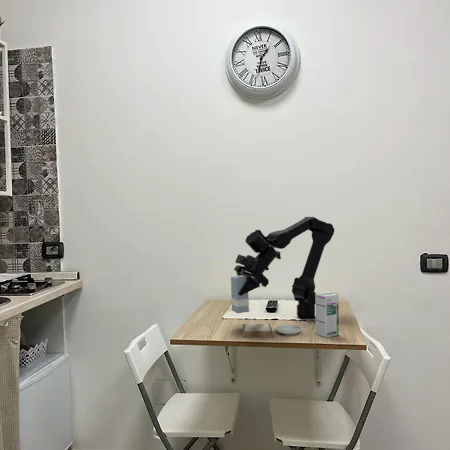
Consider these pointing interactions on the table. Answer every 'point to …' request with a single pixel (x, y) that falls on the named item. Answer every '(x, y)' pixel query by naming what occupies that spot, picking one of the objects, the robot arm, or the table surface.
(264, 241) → the robot arm
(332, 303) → the syrup box
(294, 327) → the saucer
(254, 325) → the tray
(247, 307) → the carton
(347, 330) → the table surface
